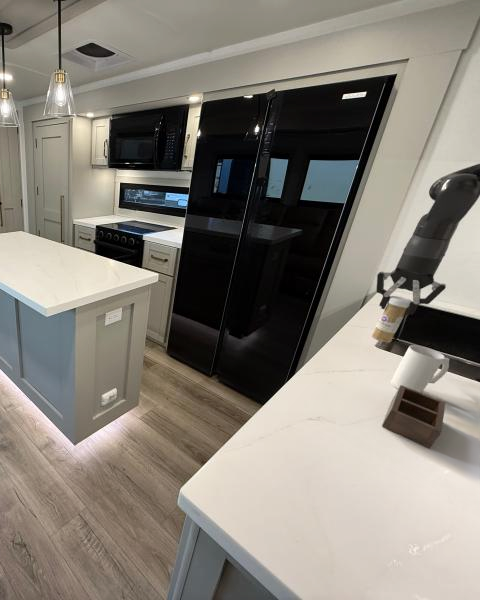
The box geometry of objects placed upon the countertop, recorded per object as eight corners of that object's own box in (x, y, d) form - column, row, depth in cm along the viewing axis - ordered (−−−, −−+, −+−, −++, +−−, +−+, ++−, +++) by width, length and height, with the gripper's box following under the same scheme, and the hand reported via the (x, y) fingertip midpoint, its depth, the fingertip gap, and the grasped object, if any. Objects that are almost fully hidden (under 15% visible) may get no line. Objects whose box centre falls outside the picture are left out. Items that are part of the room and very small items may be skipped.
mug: (400, 393, 84) (421, 356, 80) (383, 378, 91) (402, 343, 86) (443, 400, 83) (468, 363, 78) (423, 384, 89) (445, 349, 84)
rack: (435, 418, 76) (445, 402, 74) (429, 449, 67) (441, 432, 65) (391, 399, 82) (400, 384, 80) (381, 426, 73) (391, 410, 71)
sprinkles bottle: (367, 336, 94) (386, 295, 89) (378, 334, 95) (397, 294, 90) (384, 343, 90) (405, 302, 85) (395, 342, 91) (416, 301, 86)
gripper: (463, 258, 80) (431, 317, 87) (389, 246, 90) (365, 300, 96) (462, 262, 75) (428, 324, 82) (384, 250, 85) (360, 306, 92)
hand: (394, 311), depth 89 cm, fingers closed on sprinkles bottle, 4 cm apart
